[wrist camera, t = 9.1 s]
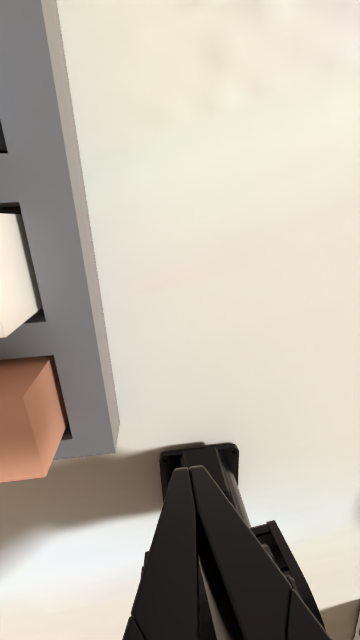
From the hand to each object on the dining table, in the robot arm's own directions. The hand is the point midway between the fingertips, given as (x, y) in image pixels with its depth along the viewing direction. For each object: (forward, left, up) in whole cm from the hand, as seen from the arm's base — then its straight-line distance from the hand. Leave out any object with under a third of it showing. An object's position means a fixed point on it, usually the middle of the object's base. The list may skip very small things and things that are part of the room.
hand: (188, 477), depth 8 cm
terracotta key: (-3, +9, -11) cm, 15 cm away
